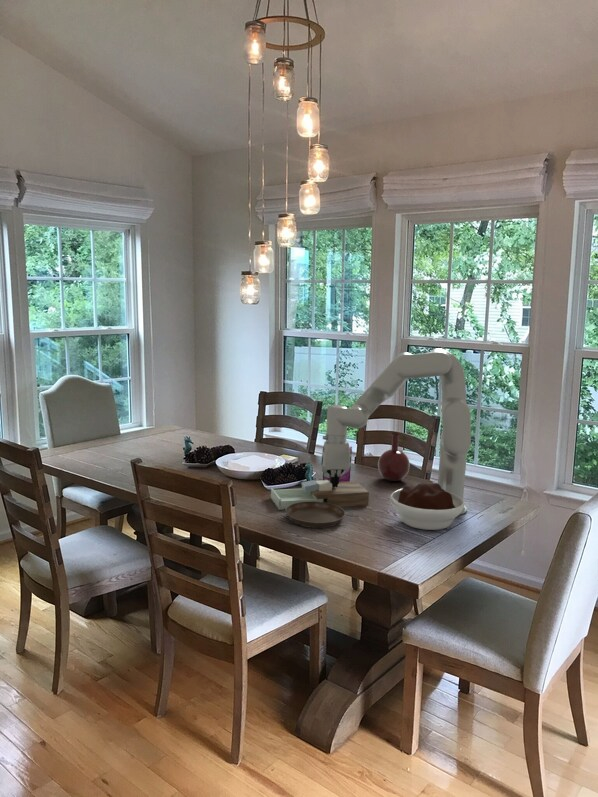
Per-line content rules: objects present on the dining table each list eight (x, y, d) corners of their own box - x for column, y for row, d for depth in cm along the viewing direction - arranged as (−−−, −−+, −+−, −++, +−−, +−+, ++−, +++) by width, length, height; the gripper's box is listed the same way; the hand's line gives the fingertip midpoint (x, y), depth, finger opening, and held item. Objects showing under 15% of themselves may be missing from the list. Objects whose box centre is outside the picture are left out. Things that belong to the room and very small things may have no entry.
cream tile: (331, 490, 253) (332, 484, 252) (318, 490, 251) (319, 484, 251) (327, 486, 258) (328, 480, 257) (315, 486, 256) (315, 480, 256)
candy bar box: (322, 486, 274) (323, 447, 271) (323, 483, 279) (324, 444, 276) (350, 488, 273) (352, 448, 270) (350, 484, 278) (352, 445, 275)
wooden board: (368, 505, 253) (368, 492, 252) (316, 508, 248) (317, 495, 247) (355, 493, 266) (355, 481, 265) (306, 496, 261) (306, 483, 260)
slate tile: (318, 490, 252) (317, 483, 251) (305, 492, 250) (305, 486, 250) (315, 485, 256) (314, 479, 256) (302, 488, 255) (301, 482, 255)
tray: (323, 507, 249) (323, 496, 248) (279, 509, 244) (279, 499, 244) (312, 495, 262) (313, 485, 261) (270, 498, 257) (270, 488, 256)
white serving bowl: (412, 507, 252) (414, 468, 249) (475, 524, 236) (478, 482, 234) (374, 524, 233) (377, 482, 230) (440, 544, 217) (444, 499, 215)
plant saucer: (356, 525, 233) (357, 515, 232) (304, 534, 222) (305, 525, 222) (324, 506, 250) (324, 498, 249) (274, 515, 240) (275, 506, 239)
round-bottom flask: (380, 474, 294) (383, 429, 290) (411, 478, 289) (414, 432, 286) (373, 482, 281) (376, 435, 278) (405, 486, 277) (408, 439, 274)
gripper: (320, 441, 247) (318, 490, 250) (358, 440, 251) (356, 488, 254) (314, 436, 254) (312, 484, 257) (351, 435, 258) (349, 482, 261)
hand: (334, 486), depth 256 cm, fingers closed
